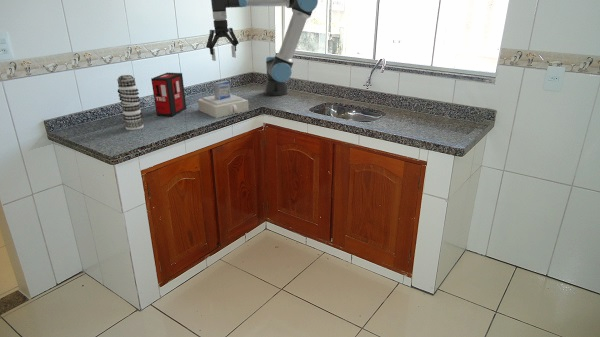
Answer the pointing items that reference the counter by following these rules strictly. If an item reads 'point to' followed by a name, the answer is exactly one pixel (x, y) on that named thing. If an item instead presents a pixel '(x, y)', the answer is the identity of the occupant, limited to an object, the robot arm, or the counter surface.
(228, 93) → the medicine box
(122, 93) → the striped tower model
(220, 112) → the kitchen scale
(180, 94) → the cleaning product box
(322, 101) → the counter surface
